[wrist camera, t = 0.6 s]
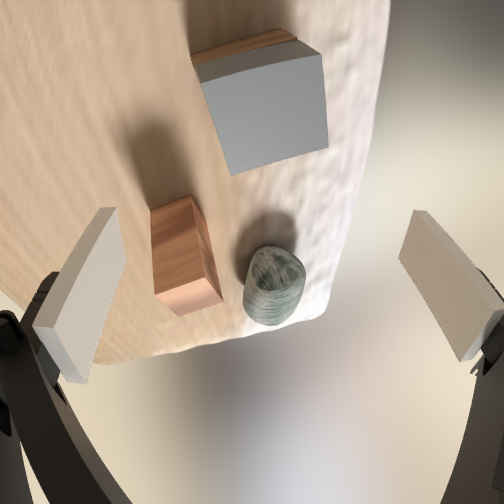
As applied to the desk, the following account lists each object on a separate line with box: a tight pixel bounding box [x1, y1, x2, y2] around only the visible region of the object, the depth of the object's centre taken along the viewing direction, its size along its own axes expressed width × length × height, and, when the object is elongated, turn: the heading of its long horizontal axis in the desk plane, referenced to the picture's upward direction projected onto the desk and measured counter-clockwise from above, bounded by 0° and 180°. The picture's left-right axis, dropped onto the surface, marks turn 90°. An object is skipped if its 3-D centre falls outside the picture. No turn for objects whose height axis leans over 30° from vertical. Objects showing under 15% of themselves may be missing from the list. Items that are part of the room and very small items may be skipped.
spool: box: [243, 246, 306, 326], centre depth 46 cm, size 14×10×10 cm
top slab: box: [195, 40, 328, 176], centre depth 22 cm, size 8×8×4 cm
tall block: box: [150, 195, 223, 317], centre depth 33 cm, size 5×5×11 cm
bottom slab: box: [190, 28, 297, 93], centre depth 24 cm, size 8×8×4 cm
